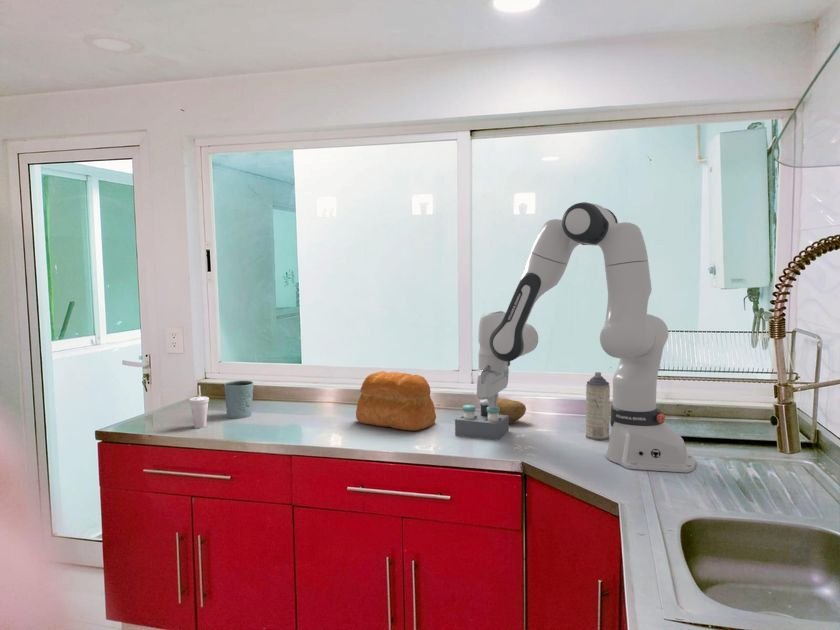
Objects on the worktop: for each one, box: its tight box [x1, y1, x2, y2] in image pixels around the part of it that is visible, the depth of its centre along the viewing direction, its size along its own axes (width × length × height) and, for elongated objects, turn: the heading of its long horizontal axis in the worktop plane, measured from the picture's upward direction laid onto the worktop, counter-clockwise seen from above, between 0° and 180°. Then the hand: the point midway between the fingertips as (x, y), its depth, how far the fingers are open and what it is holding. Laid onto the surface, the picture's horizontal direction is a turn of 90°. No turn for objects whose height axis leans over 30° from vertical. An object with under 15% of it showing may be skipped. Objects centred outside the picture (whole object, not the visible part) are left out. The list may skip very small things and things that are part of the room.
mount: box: [454, 399, 510, 441], centre depth 187 cm, size 14×11×10 cm
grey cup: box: [223, 380, 254, 420], centre depth 214 cm, size 10×10×12 cm
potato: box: [496, 397, 527, 423], centre depth 200 cm, size 10×14×8 cm
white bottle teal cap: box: [487, 407, 500, 422], centre depth 185 cm, size 4×4×7 cm
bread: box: [355, 370, 437, 432], centre depth 201 cm, size 16×26×17 cm, turn 58°
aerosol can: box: [585, 371, 611, 441], centre depth 181 cm, size 7×7×20 cm
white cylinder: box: [462, 404, 476, 419], centre depth 188 cm, size 4×4×7 cm
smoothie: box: [188, 385, 210, 429], centre depth 199 cm, size 6×6×14 cm
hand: (492, 407), depth 185 cm, fingers closed, pressing on white bottle teal cap
